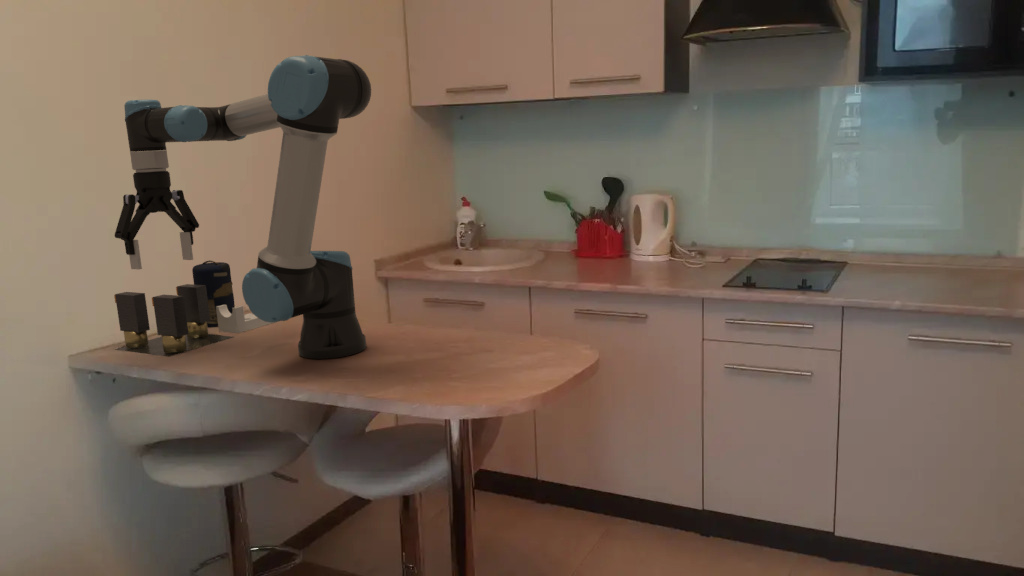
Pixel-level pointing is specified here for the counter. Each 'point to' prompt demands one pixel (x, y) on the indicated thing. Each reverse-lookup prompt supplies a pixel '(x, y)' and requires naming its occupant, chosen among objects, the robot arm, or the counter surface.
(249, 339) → the counter surface
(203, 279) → the canister
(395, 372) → the counter surface
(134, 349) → the level plate
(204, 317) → the knob right
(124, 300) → the brass knob with block
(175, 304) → the dark grey block
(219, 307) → the bracket
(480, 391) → the counter surface
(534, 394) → the counter surface
